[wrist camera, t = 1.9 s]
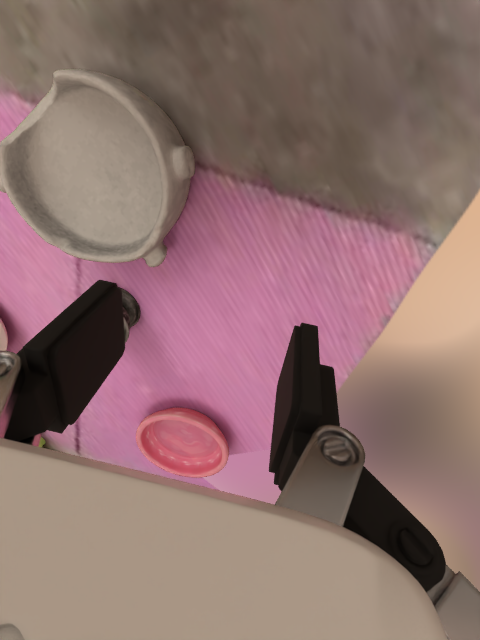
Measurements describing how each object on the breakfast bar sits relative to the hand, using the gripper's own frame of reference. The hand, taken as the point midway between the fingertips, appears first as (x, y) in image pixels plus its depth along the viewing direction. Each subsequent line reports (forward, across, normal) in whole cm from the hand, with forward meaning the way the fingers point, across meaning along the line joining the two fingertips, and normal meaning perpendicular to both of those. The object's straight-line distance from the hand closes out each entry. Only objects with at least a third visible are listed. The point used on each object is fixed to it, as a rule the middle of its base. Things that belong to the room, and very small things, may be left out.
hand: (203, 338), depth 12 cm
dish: (+20, +12, 0) cm, 23 cm away
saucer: (+20, +4, +32) cm, 38 cm away
